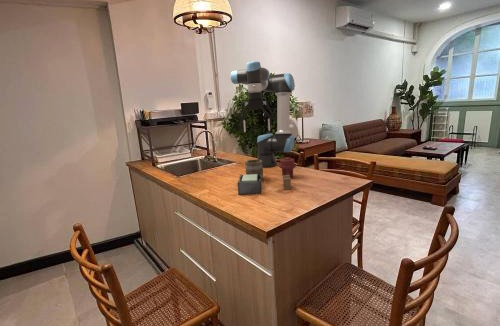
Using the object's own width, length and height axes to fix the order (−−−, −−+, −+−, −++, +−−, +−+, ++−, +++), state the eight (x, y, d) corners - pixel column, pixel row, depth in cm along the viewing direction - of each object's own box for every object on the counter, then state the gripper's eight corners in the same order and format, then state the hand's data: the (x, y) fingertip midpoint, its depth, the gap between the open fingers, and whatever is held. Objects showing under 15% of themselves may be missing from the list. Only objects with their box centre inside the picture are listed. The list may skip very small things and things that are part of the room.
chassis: (240, 185, 157) (240, 174, 156) (261, 184, 156) (261, 173, 155) (238, 194, 141) (237, 182, 140) (261, 194, 141) (260, 181, 139)
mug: (262, 183, 160) (261, 163, 157) (244, 183, 162) (243, 163, 159) (265, 175, 175) (264, 157, 172) (249, 176, 177) (248, 158, 174)
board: (243, 178, 154) (243, 174, 153) (257, 177, 153) (257, 174, 153) (241, 184, 142) (241, 180, 142) (257, 183, 142) (256, 180, 141)
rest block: (283, 185, 152) (282, 175, 151) (289, 185, 152) (289, 174, 151) (284, 189, 145) (283, 179, 143) (291, 189, 144) (290, 178, 143)
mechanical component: (298, 176, 169) (291, 180, 161) (284, 174, 175) (276, 178, 167) (298, 156, 166) (290, 160, 158) (284, 155, 172) (275, 158, 164)
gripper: (231, 93, 144) (234, 133, 149) (278, 90, 142) (279, 130, 147) (232, 93, 151) (235, 131, 156) (277, 90, 150) (279, 129, 154)
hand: (257, 131), depth 152 cm, fingers open, 13 cm apart
